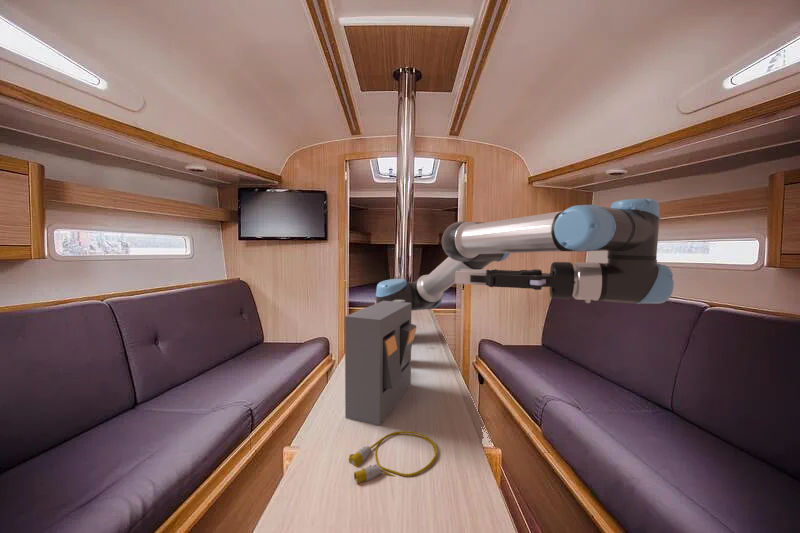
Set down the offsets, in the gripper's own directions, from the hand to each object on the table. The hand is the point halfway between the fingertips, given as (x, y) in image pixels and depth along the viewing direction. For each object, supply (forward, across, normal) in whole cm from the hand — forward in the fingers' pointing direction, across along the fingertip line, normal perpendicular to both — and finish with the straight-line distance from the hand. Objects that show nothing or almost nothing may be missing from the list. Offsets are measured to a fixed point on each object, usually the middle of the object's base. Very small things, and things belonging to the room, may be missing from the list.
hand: (458, 276), depth 71 cm
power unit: (+17, -5, -30) cm, 35 cm away
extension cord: (+7, -22, -31) cm, 39 cm away
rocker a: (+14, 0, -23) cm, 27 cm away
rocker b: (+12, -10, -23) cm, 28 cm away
